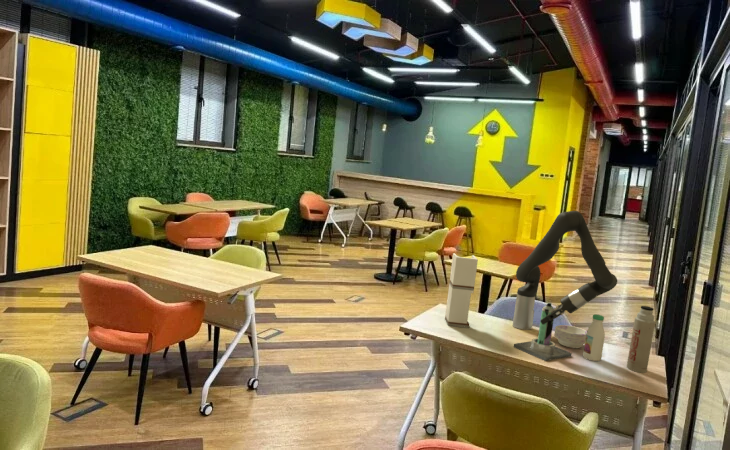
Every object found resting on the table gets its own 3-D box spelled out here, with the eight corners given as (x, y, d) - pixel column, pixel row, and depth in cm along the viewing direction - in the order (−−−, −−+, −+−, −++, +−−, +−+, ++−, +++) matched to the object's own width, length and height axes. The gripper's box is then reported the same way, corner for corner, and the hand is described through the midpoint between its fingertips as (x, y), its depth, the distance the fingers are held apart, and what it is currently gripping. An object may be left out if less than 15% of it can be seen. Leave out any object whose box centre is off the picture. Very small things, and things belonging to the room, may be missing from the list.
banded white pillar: (468, 327, 276) (477, 259, 272) (447, 325, 276) (456, 257, 272) (465, 321, 288) (473, 255, 283) (444, 319, 288) (453, 253, 283)
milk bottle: (600, 357, 252) (607, 315, 249) (601, 362, 244) (608, 319, 242) (582, 353, 254) (588, 311, 252) (583, 359, 247) (589, 315, 244)
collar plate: (539, 343, 264) (540, 333, 263) (571, 356, 249) (572, 346, 248) (513, 346, 254) (514, 337, 253) (545, 361, 239) (547, 351, 238)
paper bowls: (558, 337, 276) (560, 322, 275) (590, 346, 268) (592, 330, 267) (549, 344, 264) (551, 328, 263) (581, 353, 255) (584, 336, 254)
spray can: (550, 348, 248) (556, 305, 245) (537, 346, 249) (543, 303, 246) (548, 344, 253) (555, 302, 251) (536, 342, 254) (542, 300, 252)
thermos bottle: (633, 372, 237) (643, 308, 233) (622, 364, 245) (633, 303, 241) (650, 373, 237) (661, 310, 234) (639, 366, 245) (650, 305, 242)
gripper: (570, 291, 251) (539, 311, 257) (566, 296, 238) (534, 317, 245) (581, 304, 249) (550, 324, 256) (578, 311, 236) (545, 331, 243)
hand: (542, 321), depth 250 cm, fingers closed on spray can, 5 cm apart
